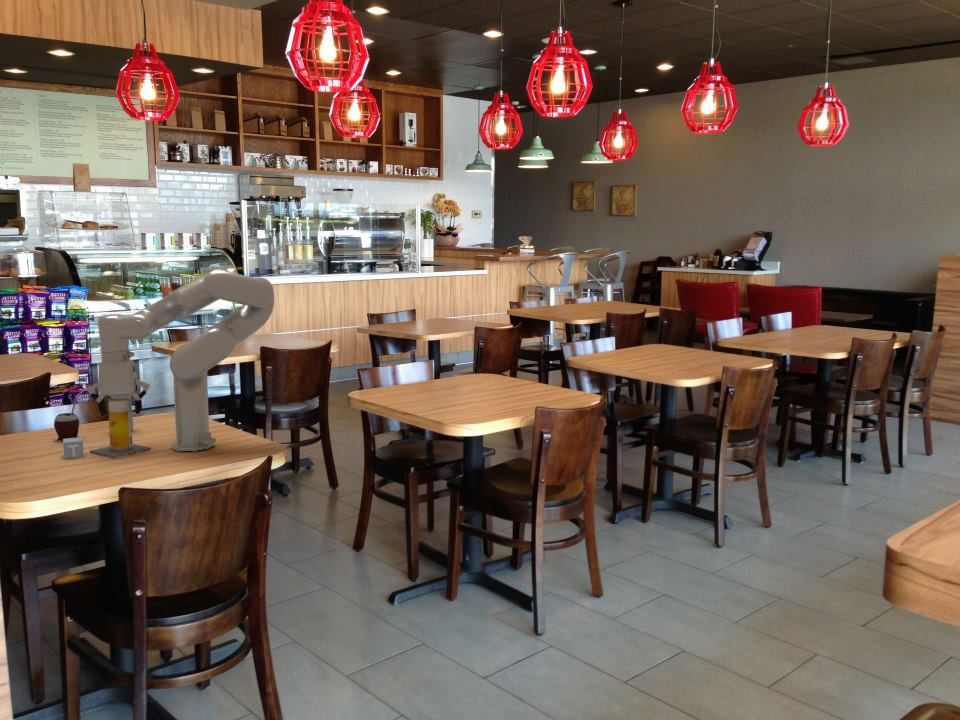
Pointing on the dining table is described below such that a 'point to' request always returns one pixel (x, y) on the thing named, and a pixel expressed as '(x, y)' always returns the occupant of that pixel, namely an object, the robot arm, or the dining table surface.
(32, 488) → the dining table surface
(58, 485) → the dining table surface
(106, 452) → the coaster
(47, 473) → the dining table surface
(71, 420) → the mate gourd
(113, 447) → the beer can
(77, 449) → the letter block
